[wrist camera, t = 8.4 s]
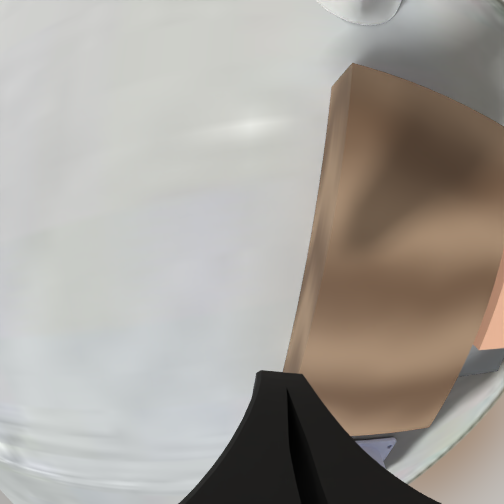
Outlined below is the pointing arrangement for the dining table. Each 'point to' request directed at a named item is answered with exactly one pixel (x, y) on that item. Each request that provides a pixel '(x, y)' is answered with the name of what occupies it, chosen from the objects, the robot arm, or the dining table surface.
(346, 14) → the beer glass
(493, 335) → the tile
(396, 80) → the brown wooden block
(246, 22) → the dining table surface
